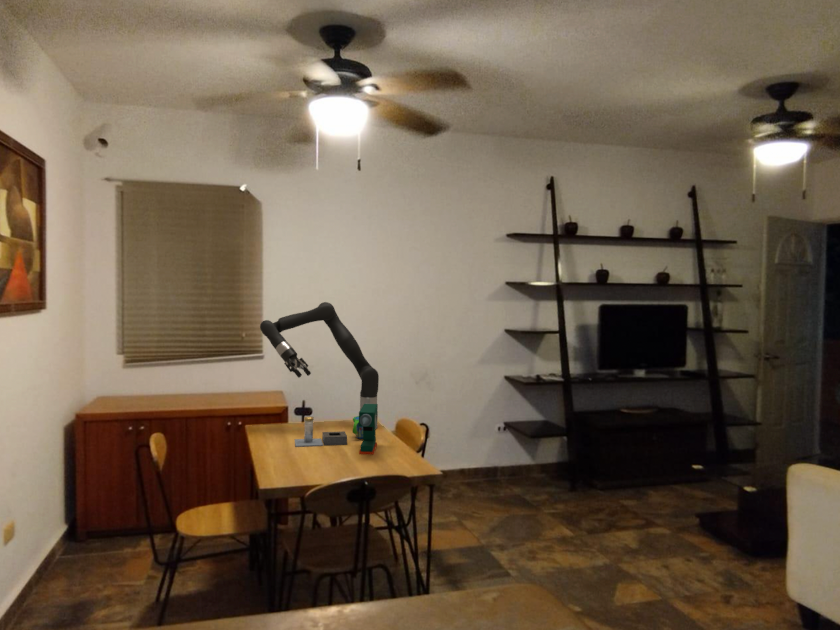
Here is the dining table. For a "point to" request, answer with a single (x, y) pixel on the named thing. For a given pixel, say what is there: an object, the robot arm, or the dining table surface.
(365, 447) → the power tool
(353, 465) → the dining table surface
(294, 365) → the robot arm
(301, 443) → the mat
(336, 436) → the socket block
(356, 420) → the snack cup
